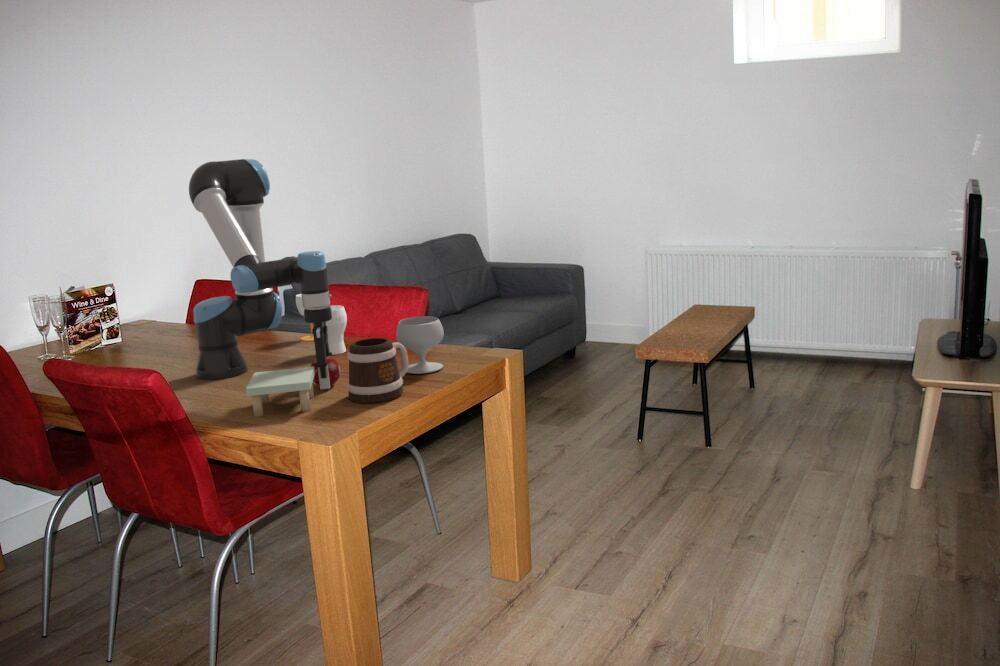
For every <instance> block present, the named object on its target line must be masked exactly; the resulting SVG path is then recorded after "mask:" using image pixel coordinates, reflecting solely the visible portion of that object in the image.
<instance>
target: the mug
mask: <svg viewBox="0 0 1000 666" xmlns="http://www.w3.org/2000/svg"><path fill="white" fill-rule="evenodd" d="M397 351H398V352H399V354H400V356H399V357H400V364H401V367H400V370H399V366H398V362H397V357H396V355H397ZM346 358H347V359H348V382H347V385H346V389H347V391H348V398H349V399H350V400H351V401H352V402H354V401H355V403H357V402H358V404H377V403H376V402H379V403H383V402H384V401H385V402H388V401H393V400H395V399H397V398H398V397H400V396H401V395H402V394H403V391H404V387H403V384H404V379H403V377H405V375H406V374H407V373H406V372H407V370H408V366H409V356H408V351H407V348H405V347H404V346H403V345H402V344H400V343H399V342H398V341H396V342H392V341H391V340H390V339H388V338H385V337H384V338H383V337H371V338H365V339H360V340H356V341H354V342H352V343H351V344H350V346H349V349H348V351H347V355H346Z"/></svg>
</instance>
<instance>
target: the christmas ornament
mask: <svg viewBox="0 0 1000 666" xmlns="http://www.w3.org/2000/svg"><path fill="white" fill-rule="evenodd" d="M326 361H327V365H328V373H329V381H330V386H332V385H334V384H335V383H336V382H337V381H338V380H339V379H340V375H341V367H340V365H339V363H338V361H336V359H335V358H332V357H329V356H328V357H327V356H326ZM320 362H324V361H320ZM316 364H317V361H316V359H314V361H313V362H312V363H311V364H310V367H314V369H315V375H314V379H313V382H312V383H314V384H316V385H317V386H319V387H320V382H319V374H318V367H315V365H316Z"/></svg>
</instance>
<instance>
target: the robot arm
mask: <svg viewBox="0 0 1000 666" xmlns="http://www.w3.org/2000/svg"><path fill="white" fill-rule="evenodd" d="M270 187H271V185H270V179H269V175H268V173H267V170H266V168H265V167H264V165H263V164H262V163H261V162H260V161H259V160H257V159H253V158H251V159H249V158H246V159H245V158H242V159H240V158H239V159H231V160H219V161H209V162H205V163H202V164H201V165H199V166H198V167H197V168H196V169H195V170H194V172H193V173H192V175H191V177H190V180H189V183H188V193H189V194H188V196H189V199H190V201H191V205H193V207H194V209H195V210H196V211H197V212H199V213H201V214H202V215H203V217H204V219H205V221H206V223H207V224H208V226H209V227H210V230H211V231H212V233H213V235H214V237H215V238H216V240H217V242H218V244H219V245H220V247H221V249H222V251H223V252H224V254H225V255H226V258H227V259H228V261H229V262H230V265H231V266H232V269H231V270H230V281H231V284H232V288H233V289H234V290H235V292H234V295H235V299H234V298H233V299H232V297H231V296H228V295H222V296H221V295H220V296H217V297H216V296H215V297H211V298H208V299H204V300H201V301H200V302H198V303H197V304H195V306H194V307H193V322H194V326H195V327H194V328H195V333H196V339H197V345H198V346H197V347H198V357H197V363H196V368H195V371H196V377H197V378H198V379H200V378H201V379H202V380H218V379H219V380H220V379H226V378H232V377H234V376H239V375H241V374H244V373H245V372H247V370H248V365H247V361H246V359H245V357H244V355H243V354H242V350H241V349H240V347H239V344H238V337H242V336H245V335H250V334H257V333H261V332H266V331H269V330H273V329H276V328H277V327H278V326H279V324H280V322H281V321H282V317H283V304H282V301H281V298H280V296H279V295H278V293H276V292H274V288H279V287H280V288H281V287H286V286H290V285H291V286H292V285H300V289H301V293H300V294H302V302H303V307H304V308H306V309H304V316H305V317H304V322H306V323H308V324H310V323H312V324H314V326H313V329H312V333H313V335H314V341H313V343H314V349H315V360H316V361H317V364H316V365H315V367H318V374H319V382H320V386H319V389H320V390H327V389H331V385H330V381H329V373H328V365H327V361H326V356H327V357H330V356H333V355H332V352H329V351H330V349H329V344H328V333H327V331H328V328H327V326H326V321H329V320H331V319H332V312H331V307H330V306H331V300H330V299H331V298H332V297H333V296H332V294H331V293H330V291H329V278H328V269H327V263H326V258H325V257H326V256H325V254H324V252H323V251H320V250H316V251H314V250H312V251H311V250H310V251H304V252H299V253H298V255H297V256H292V255H291V256H284V257H283V258H282V257H281V259H277V260H269V261H268V260H267V261H266V260H265V250H264V242H263V230H262V221H261V212H260V209H261V207H262V206H263V205H264V203H265V202H264V198H265V197H267V196H268V195H269V194H270V189H271V188H270ZM320 361H324V362H320Z"/></svg>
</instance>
